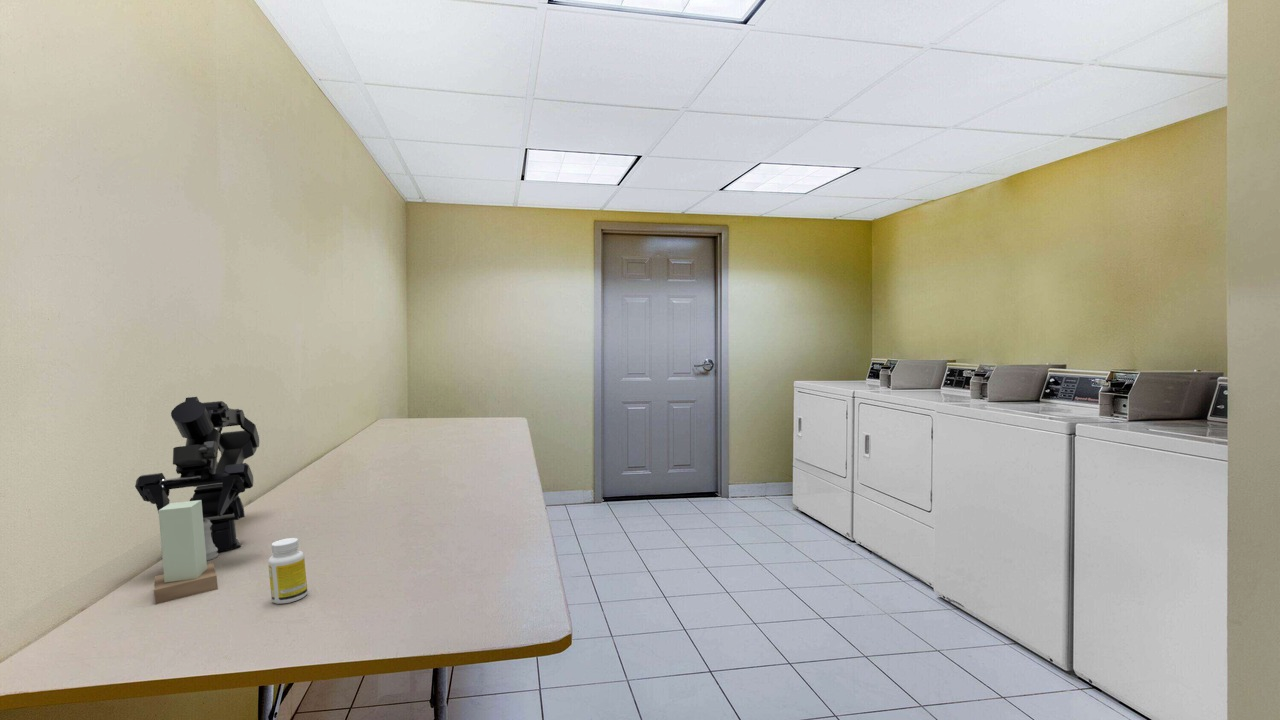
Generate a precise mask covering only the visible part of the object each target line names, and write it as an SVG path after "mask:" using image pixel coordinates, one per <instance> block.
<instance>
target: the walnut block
mask: <svg viewBox="0 0 1280 720" xmlns="http://www.w3.org/2000/svg"><path fill="white" fill-rule="evenodd" d="M153 585H154V586H153V588H154V589H153V590H154V600H155V605H158V604H159V605H160V604H163V603H167V602H171V601H176V600H179V599H184V598H187V597H191V596H195V595H200V594H203V593H208V592H212V591H216V590H218V589H219V588H218V577H217V574H216V569H215V565H214V563H213V562H212V563H207V569H206V570H205V571H204V572H203V573H202V574H201V575H200V576H199V577H198V578H196V579H189V580H181V581H173V582H166V583H165V581H164V573H163V574H159V575H155V576H154V584H153Z"/></svg>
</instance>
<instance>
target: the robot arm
mask: <svg viewBox="0 0 1280 720" xmlns="http://www.w3.org/2000/svg"><path fill="white" fill-rule="evenodd" d="M170 416H171V418H172V420H173V422H174V424H175V426H176V428H177V430H178V432H179V433H180V435H181V437H182V438H184V439H186V441H185V445H182V446H181V445H180V446H175V447H174V448H172V449H173V450H172V451H173V452H172V465H173V466H175V467H176V468H175V472H176V474H177V475H180V477H171V478H166V476H165V475H164V473H163V472H158V473H150V474H142V475H140V476H138V478H137V479H136V481H135V486H134V487H135V489H136V490H137V492H138V495H140V497H141V498H142V500H143V501H144V502H147V503H148V502H149V503H150V504H153V505H155V506H156V510H157V511H158V510H160V509H162V508H163V507H165V506H166V505H168V504H170V502H171V501H170V498H169V495H170V492H171V491H170V490H173V489H175V490H176V489H182V488H183V489H184V488H191V487H193V488H195V489H194V490H193V491H194V493H193V495H192V497H190V499H189V501H197V500H201V501H202V513H203V522H204V521H205V519H210V522H211V523H212V525H211V527H210V530H211V531H212V532H211V537H212V541H213V543H214V544H215V547H217V548H218V551H217V553H221V552H225V551H229V550H233V549H238V548H241V547H242V545H241V543H240V542H239V540H238V538H237V532H236V531H237V530H236V522H235V521H238V520H240V519H242V518H245V516H246V515H245V508H244V504H243V501H242V498H241V497H240V496H239V495H240V494H241V493H245V491H246V490H247V489H251V488H253V487H254V474H253V472H252V470H251V467H250V465H249V464H248V463H246V462H244V461H245V460H247V459H249V458H251V457H253V456H254V454H255V453H256V451H257V448H259V447H260V435H259V433H258V430H257V427H256V424H255V423H253V422H252V421H251V420H249V419H248V418H247V417H246V416H245V412H244V410H243V409H239V408H230V407H229V406H228V404H227V403H225V402H224V401H221V400H220V401H219V400H218V401H207V402H201V401H200V400H199V398H198V396H191V397H189V396H188V397H185V400H184V401H182V402H180V403H179V404H177V405H176V406H175V407H174V408H173V409H171V413H170ZM236 426H237V427H238V426H240V428H241V429H242V430H235V431H226V432H222V431H223V429H224V428H225V427H236ZM218 451H219V452H218ZM218 453H220V458H219V460H218ZM157 513H158V512H157ZM158 515H159V513H158Z"/></svg>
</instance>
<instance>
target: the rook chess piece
mask: <svg viewBox="0 0 1280 720" xmlns="http://www.w3.org/2000/svg"><path fill="white" fill-rule="evenodd" d="M203 524H204V536H205V548H206V560H207V561H211V560H214V559H216V558H217V557H218V556H219V553H220V552H217V551H218V548H217V547H215V544H214V543H213V541H212V537H211V532H212V531H211V530H210V527H211V525H212V523H211V522H210V519H205V521H204V522H203Z"/></svg>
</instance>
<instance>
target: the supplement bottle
mask: <svg viewBox="0 0 1280 720" xmlns="http://www.w3.org/2000/svg"><path fill="white" fill-rule="evenodd" d="M299 546H300V545H299V539H298V538H297V537H291V538H290V537H288V538H283V539H280V540H276V541H274V542H272V543H271V553H272V554H273V555H271V556H270V557H269V559H268V560H267V561H268V574H269V576H268V577H269V586H270V594H271V601H272V603H274V604H279V605H280V604H281V605H282V604H283V605H284V604H289V603H293V602H297V601H298V600H302V599H303V598H304V597H306V596H307V595H308V583H307V572H306V561H305V555H304V552H303V551H301V550H298V548H299Z"/></svg>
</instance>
